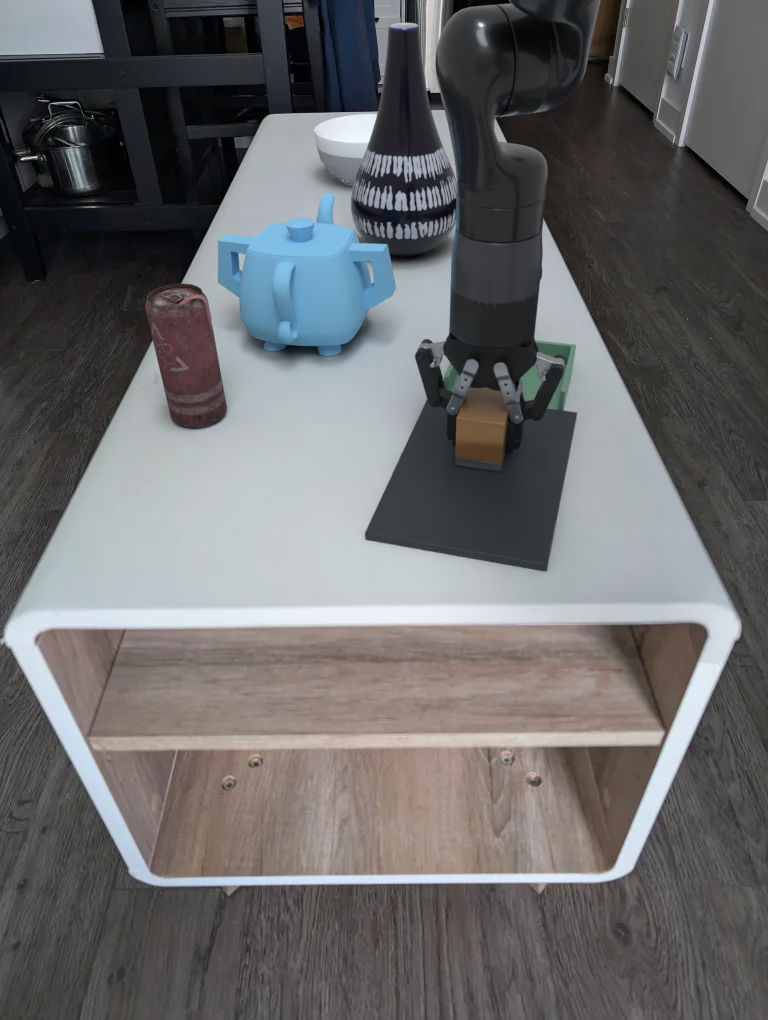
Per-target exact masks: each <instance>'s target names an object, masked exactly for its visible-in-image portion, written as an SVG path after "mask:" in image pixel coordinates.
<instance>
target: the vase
mask: <svg viewBox="0 0 768 1020" xmlns="http://www.w3.org/2000/svg"><path fill="white" fill-rule="evenodd" d="M385 57H386V58H385V65H384V73H383V74H384V75H383V81H382V87H381V88H382V89H381V93H380V100H379V103H378V110H377V112H376V114H377V117H376V121H375V124H374V128H373V131H372V134H371V137H370V140H369V143H368V145H367V148H366V151H365V153H364V156H363V159H362V161H361V164H360V166H359V169H358V172H357V174H356V177H355V180H354V184H353V187H352V189H351V195H350V211H351V212H350V213H351V217H352V221H353V224H354V226H355V228H356V231H357V233H358V234H359V235H360V236H361V237H362V238H363V240H364V241H365V242H366V243H367V244H388V249H389V254H390V258H393V259H394V258H395V259H400V260H401V259H402V260H407V259H415V258H419V257H422V256H424V255H425V254H426V253H427V252H430V251H431V250H433V249H435V248H437V247H438V246H439V245H441V244H442V243H443V242H444V241H445V240H447V238H448V237H449V236H450V234H451V233H452V231H453V230H454V229H455V227H456V196H457V177H456V174H455V172H454V170H453V168H452V165H451V162H450V160H449V158H448V155H447V152H446V150H445V148H444V145H443V143H442V140H441V137H440V135H439V132H438V128H437V126H436V122H435V119H434V116H433V112H432V107H431V104H430V99H429V94H428V90H427V83H426V78H425V77H426V76H425V71H424V63H423V57H422V47H421V35H420V26H419V25H418V24H417V23H414V22H396V23H392V24H390V25H389V26H388V29H387V46H386V56H385Z"/></svg>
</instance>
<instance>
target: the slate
mask: <svg viewBox="0 0 768 1020" xmlns="http://www.w3.org/2000/svg"><path fill="white" fill-rule="evenodd" d="M421 409H422V410H421V411H420V413H419V416H418V418H417V420H416V422H415V424H414V427H413V428H412V431H411V433H410V435H409V437H408V440H407V441H406V444H405V445H404V448H403V450H402V452H401V454H400V456H399V458H398V461H397V463H396V465H395V468H394V469H393V471H392V473H391V476H390V478H389V481H388V482H387V485H386V487H385V489H384V491H383V493H382V495H381V497H380V500H379V502H378V504H377V506H376V508H375V510H374V512H373V515H372V517H371V519H370V522H369V523H368V525H367V528H366V530H365V532H364V538H365V540H367V541H374V542H379V543H385V544H391V545H397V546H403V547H409V548H413V549H419V550H424V551H430V552H437V553H443V554H446V555H453V556H459V557H463V558H464V557H465V558H470V559H474V560H475V559H476V560H481V561H488V562H491V563H498V564H504V565H510V566H515V567H520V568H527V569H532V570H537V571H542V572H546V571H548V565H549V561H550V556H551V551H552V546H553V540H554V535H555V530H556V526H557V520H558V515H559V509H560V506H561V505H560V504H561V500H562V495H563V488H564V484H565V478H566V474H567V468H568V463H569V458H570V453H571V447H572V444H573V437H574V432H575V427H576V422H577V416H578V412H577V411H570V410H564V409H563V410H555V409H547V410H546V412H545V414H544V416H543V418H542V419H541V420H539V421H534V420H532V419H528V420H526V421H524V427H523V437H522V441H521V445H520V447H519V448H518V450H517V449H513V452H512V454H507V453H506V456H505V459H504V463H503V466H502V470H501V472H496V471H489V470H482V469H476V468H469V467H462V466H456V465H455V448H456V446H453V440H448V437H447V412H446V410H445V409H443V408H441V407H439V406H438V407H432V406H430V405H429V403H428V400H427V399H426V401H425V402H424V405H423V407H422V408H421Z"/></svg>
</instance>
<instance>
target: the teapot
mask: <svg viewBox="0 0 768 1020" xmlns="http://www.w3.org/2000/svg"><path fill="white" fill-rule="evenodd" d="M335 197H336V196H335V194H334V193H333V192H328V193H325V194H324V195H323V197H322V198H321V200H320V202H319V205H318V211H317V216H316V221H315V220H313V219H312V218H309V217H304V216H303V217H302V216H300V217H294V218H291V219H288V220H287V221H286V222H276V223H272V224H269V225H267V226H266V227H264V228H263V229H262V230H261V231H260V232H259V233H258V234H257V235H256V236H247V235H238V234H232V233H231V234H229V233H225V234H223V235H222V237H220V238H219V239H218V241H217V283H218V284H219V285H220V286H222V287H223V288H225V289H226V290H228V291H229V292H231V293H232V294H233V295H235V296H236V297H238V298H239V303H238V304H239V315H240V320H241V322H242V324H243V326H244V328H245V329H246V330H247V332H248V333H249V334H250V335H251V336H252V337H253V338H255V339H257V340H262V341H264V342H265V343H264V344H263V348H264V350H266V351H267V352H268V351H269V352H279V351H282V350H284V349H285V348H287V347H288V346H298V347H300V346H301V347H317V353H318V354H320V355H321V356H324V357H333V356H337V355H339V354H340V353H341V352H342V350H343V349H342V347H341V345H343V344H347V343H349V342H350V341H352V340H353V338H354V337H355V336H356V334H357V333H358V331H360V329H361V328H362V325H363V323H364V322H365V318H366V317H367V314H368V312H369V310H371V309H372V308H374V307H376V306H378V305H379V304H381V303H382V302H384V301H386V300H388V299H390V298H391V297H392V296H393V295H394V293H395V291H396V290H397V284H396V279H395V275H394V269H393V265H392V261H391V256H390V254H389V249H388V244H369V243H368V242H364V243H363V242H360V241H359V239H358V236H357V234H356V232H355V230H354V229H353V228H351V227H349V226H346V225H339V224H335V222H334V203H335ZM239 254H241V255H245V256H244V260H243V265H242V270H241V268H240V256H239ZM367 261H368V262H369V261H370V263H371V272H372V277H373V278H372V279H373V282H372V279H371V274H370V273H371V272H370V268H369V265H368V262H367Z"/></svg>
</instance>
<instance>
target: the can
mask: <svg viewBox="0 0 768 1020" xmlns="http://www.w3.org/2000/svg"><path fill="white" fill-rule="evenodd" d="M144 309H145V314H146V317H147V321H148V322H147V323H148V325H149V330H150V335H151V339H152V343H153V347H154V351H155V355H156V360H157V364H158V369H159V373H160V377H161V381H162V385H163V390H164V394H165V398H166V402H167V406H168V407H167V408H168V412H169V416H170V419H171V420H172V421H174V423H175V424H177V425H178V426H180V427H182V428H185V429H186V428H187V429H202V428H207V427H211V426H213V425H215V424H217V423H219V422H220V421H221V420H222V419H223V417H225V414H226V412H227V408H228V406H227V400H226V394H225V388H224V382H223V378H222V377H223V376H222V372H221V366H220V361H219V354H218V350H217V348H218V347H217V344H216V337H215V331H214V327H213V321H212V314H211V310H210V305H209V299H208V297H207V295H206V294H205V293H204V292H203V289H202V288H201V287H200V286H198V285H195V284H192V283H173V284H166V285H162V286H160V287H157V288H155V289H153V290H152V291H150V292H149V293H148V294H147V296H146V302H145V306H144Z"/></svg>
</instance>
